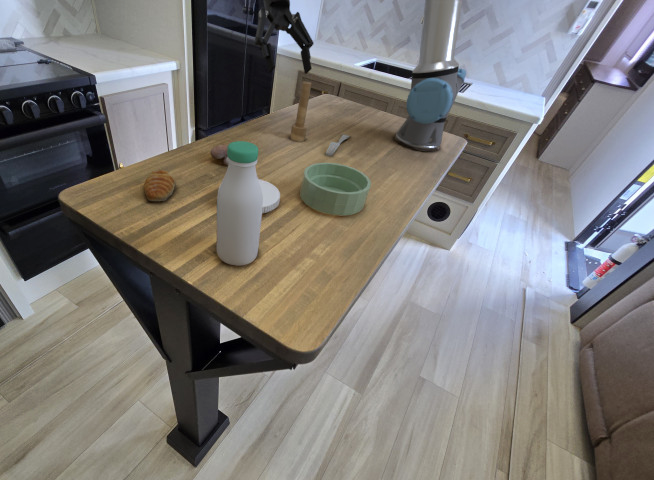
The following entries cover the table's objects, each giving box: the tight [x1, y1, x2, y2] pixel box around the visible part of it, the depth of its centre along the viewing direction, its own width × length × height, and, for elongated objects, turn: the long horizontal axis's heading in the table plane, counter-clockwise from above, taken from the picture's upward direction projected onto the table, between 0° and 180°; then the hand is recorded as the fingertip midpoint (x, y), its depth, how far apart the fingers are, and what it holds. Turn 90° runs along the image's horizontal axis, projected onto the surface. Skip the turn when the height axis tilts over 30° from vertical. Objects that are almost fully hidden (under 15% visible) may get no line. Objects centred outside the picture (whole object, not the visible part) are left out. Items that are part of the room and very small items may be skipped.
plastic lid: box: [217, 178, 281, 214], centre depth 76 cm, size 14×14×2 cm
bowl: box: [299, 162, 372, 217], centre depth 79 cm, size 16×16×6 cm
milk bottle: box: [216, 140, 263, 266], centre depth 55 cm, size 8×8×20 cm
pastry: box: [143, 169, 177, 202], centre depth 74 cm, size 9×7×4 cm
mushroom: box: [210, 144, 229, 166], centre depth 89 cm, size 8×6×8 cm
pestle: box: [289, 80, 312, 142], centre depth 103 cm, size 5×5×16 cm
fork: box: [325, 134, 351, 157], centre depth 108 cm, size 3×21×3 cm, turn 154°
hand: (290, 70), depth 101 cm, fingers open, 13 cm apart
